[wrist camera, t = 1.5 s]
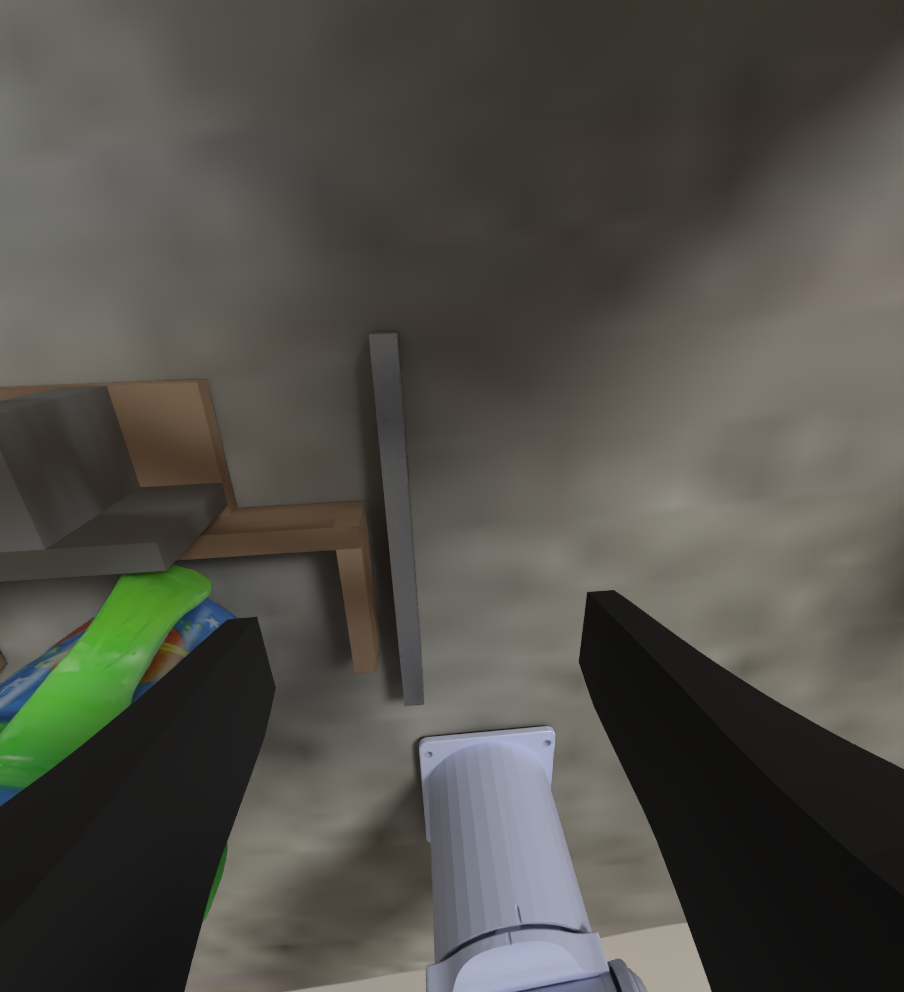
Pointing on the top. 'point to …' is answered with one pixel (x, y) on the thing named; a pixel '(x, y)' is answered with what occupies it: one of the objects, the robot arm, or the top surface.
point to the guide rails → (397, 506)
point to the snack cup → (102, 673)
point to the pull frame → (152, 494)
